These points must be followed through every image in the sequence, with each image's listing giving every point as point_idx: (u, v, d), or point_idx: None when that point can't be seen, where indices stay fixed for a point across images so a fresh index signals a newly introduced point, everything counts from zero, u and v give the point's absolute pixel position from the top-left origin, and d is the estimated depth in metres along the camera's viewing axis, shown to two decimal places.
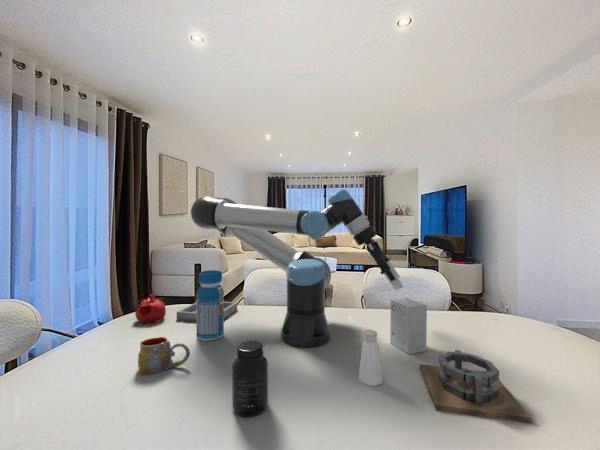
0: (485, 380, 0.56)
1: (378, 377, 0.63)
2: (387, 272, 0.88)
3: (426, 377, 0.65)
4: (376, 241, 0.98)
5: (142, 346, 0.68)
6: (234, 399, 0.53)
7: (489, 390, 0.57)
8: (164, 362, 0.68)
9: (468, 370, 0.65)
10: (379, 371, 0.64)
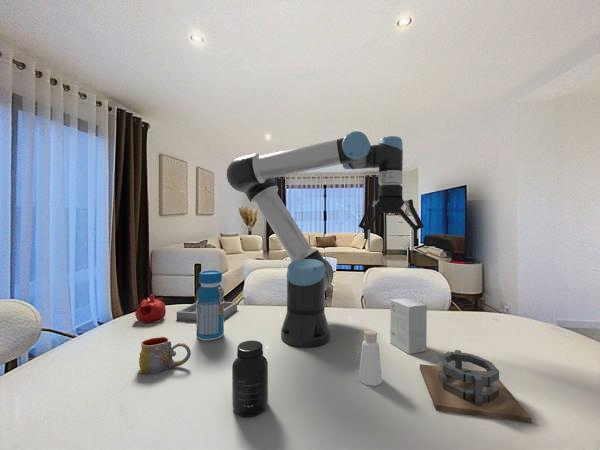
0: (485, 380, 0.56)
1: (378, 377, 0.63)
2: (364, 230, 0.97)
3: (426, 377, 0.65)
4: (395, 202, 0.92)
5: (143, 346, 0.68)
6: (234, 399, 0.53)
7: (489, 390, 0.57)
8: (165, 362, 0.68)
9: (468, 370, 0.65)
10: (379, 371, 0.64)
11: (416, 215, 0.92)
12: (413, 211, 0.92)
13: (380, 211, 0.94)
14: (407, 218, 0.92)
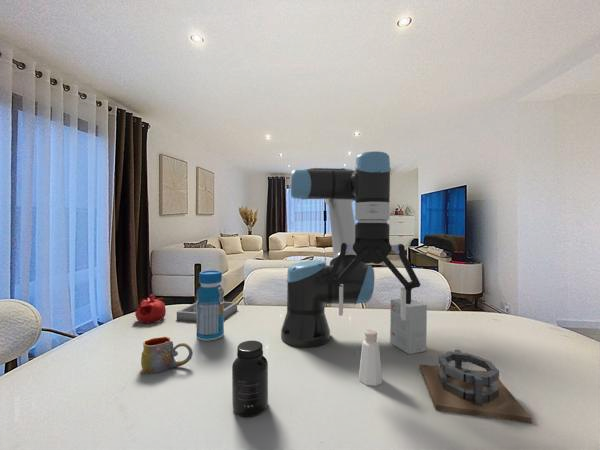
0: (485, 380, 0.56)
1: (378, 377, 0.63)
2: (334, 285, 0.67)
3: (426, 377, 0.65)
4: (379, 249, 0.63)
5: (145, 346, 0.68)
6: (234, 399, 0.53)
7: (489, 390, 0.57)
8: (167, 362, 0.68)
9: (468, 370, 0.65)
10: (379, 371, 0.64)
11: (409, 268, 0.62)
12: (405, 262, 0.62)
13: (357, 260, 0.64)
14: (396, 272, 0.62)
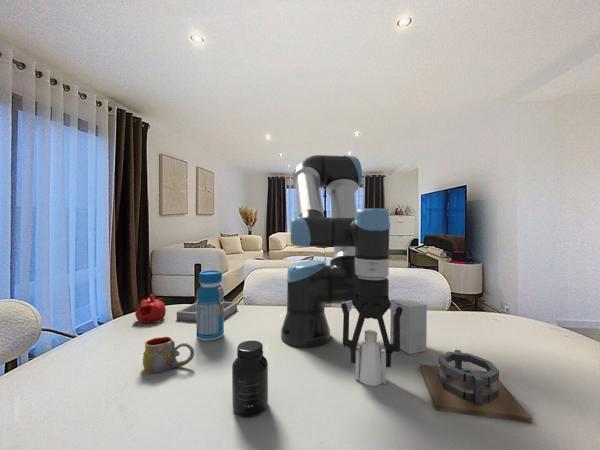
0: (485, 380, 0.56)
1: (378, 377, 0.63)
2: None
3: (426, 377, 0.65)
4: (379, 306, 0.63)
5: (147, 346, 0.68)
6: (234, 399, 0.53)
7: (489, 390, 0.57)
8: (169, 362, 0.68)
9: (468, 370, 0.65)
10: (379, 371, 0.64)
11: (397, 332, 0.63)
12: (396, 325, 0.63)
13: (361, 319, 0.64)
14: (384, 333, 0.63)
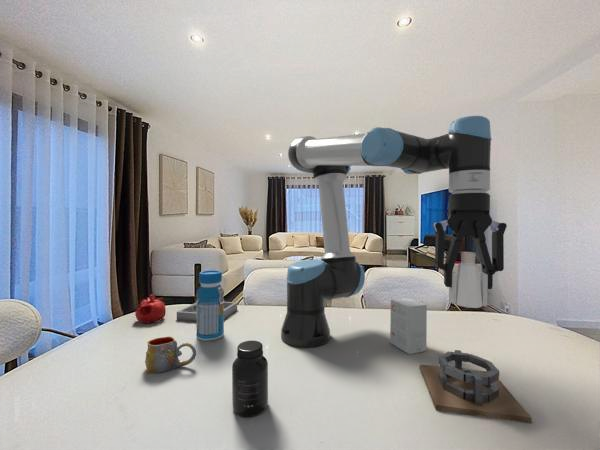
0: (485, 380, 0.56)
1: (479, 299, 0.59)
2: (444, 272, 0.62)
3: (426, 377, 0.65)
4: (480, 222, 0.58)
5: (149, 345, 0.68)
6: (234, 399, 0.53)
7: (489, 390, 0.57)
8: (171, 362, 0.68)
9: (468, 370, 0.65)
10: (480, 293, 0.59)
11: (500, 249, 0.58)
12: (499, 242, 0.58)
13: (460, 237, 0.59)
14: (485, 252, 0.59)
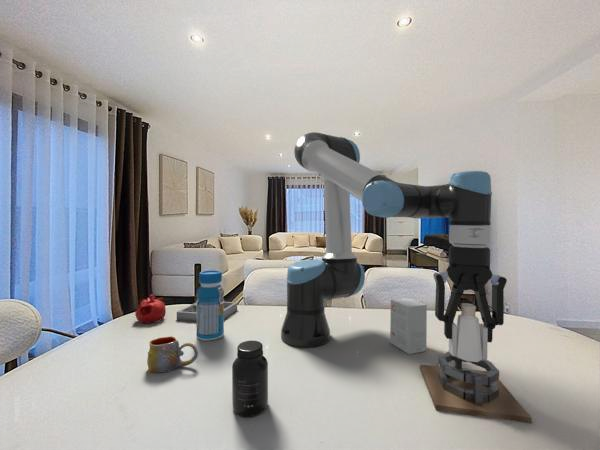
0: (485, 380, 0.56)
1: (479, 352, 0.59)
2: (444, 323, 0.62)
3: (426, 377, 0.65)
4: (481, 276, 0.58)
5: (151, 345, 0.68)
6: (234, 399, 0.53)
7: (489, 390, 0.57)
8: (173, 361, 0.69)
9: (468, 370, 0.65)
10: (480, 346, 0.59)
11: (500, 304, 0.58)
12: (499, 296, 0.58)
13: (460, 290, 0.60)
14: (485, 305, 0.59)
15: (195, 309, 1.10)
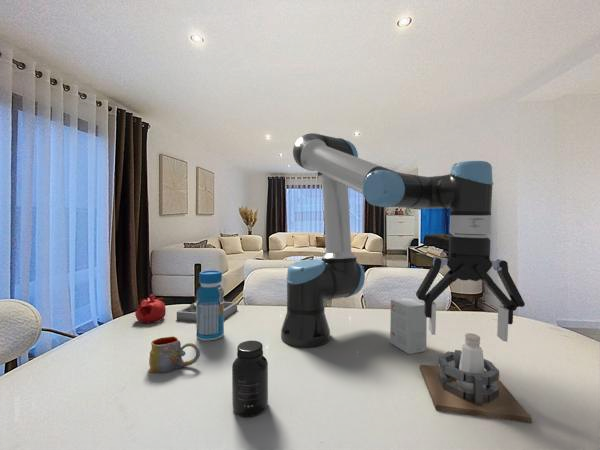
0: (485, 380, 0.56)
1: None
2: None
3: (426, 377, 0.65)
4: (479, 265, 0.59)
5: (153, 345, 0.68)
6: (234, 399, 0.53)
7: (489, 390, 0.57)
8: (174, 362, 0.69)
9: None
10: None
11: (513, 286, 0.58)
12: (508, 280, 0.58)
13: (454, 277, 0.60)
14: (498, 290, 0.59)
15: (194, 308, 1.10)
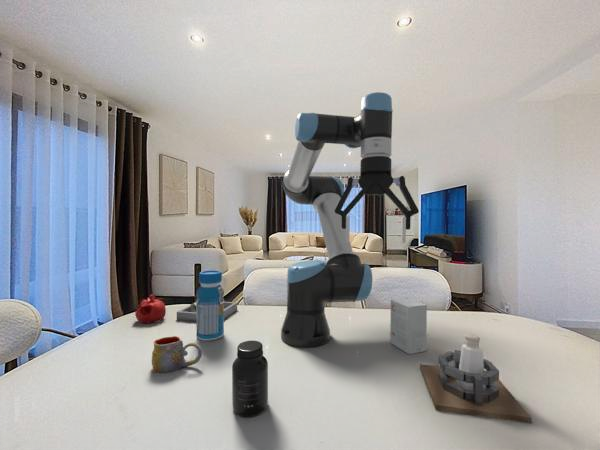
0: (485, 380, 0.56)
1: None
2: (341, 217, 0.74)
3: (426, 377, 0.65)
4: (382, 180, 0.70)
5: (156, 345, 0.69)
6: (234, 399, 0.53)
7: (489, 390, 0.57)
8: (177, 361, 0.69)
9: None
10: None
11: (409, 197, 0.69)
12: (405, 191, 0.70)
13: (362, 192, 0.71)
14: (397, 201, 0.70)
15: (195, 308, 1.11)
